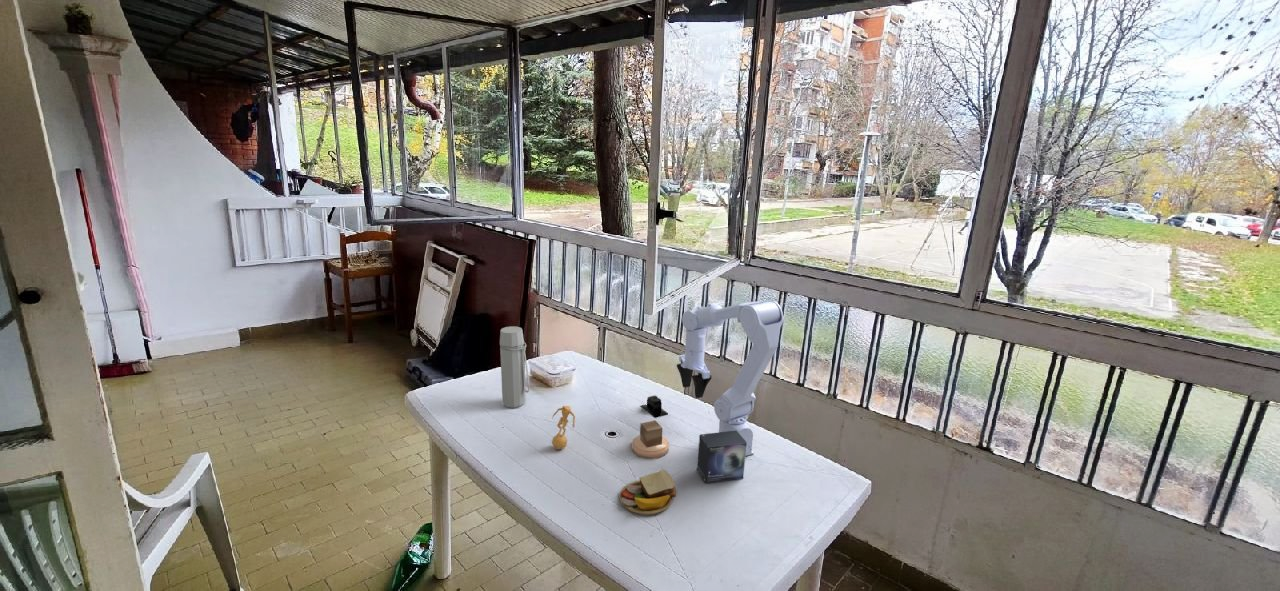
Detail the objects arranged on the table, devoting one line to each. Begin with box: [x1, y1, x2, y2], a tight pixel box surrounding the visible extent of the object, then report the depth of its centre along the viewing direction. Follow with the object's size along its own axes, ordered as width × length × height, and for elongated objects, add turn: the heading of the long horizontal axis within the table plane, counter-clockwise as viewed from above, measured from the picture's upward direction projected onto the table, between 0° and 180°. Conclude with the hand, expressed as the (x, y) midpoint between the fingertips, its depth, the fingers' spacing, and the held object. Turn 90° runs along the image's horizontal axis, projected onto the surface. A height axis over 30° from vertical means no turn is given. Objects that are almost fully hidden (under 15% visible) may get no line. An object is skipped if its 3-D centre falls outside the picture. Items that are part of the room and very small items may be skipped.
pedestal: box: [631, 434, 670, 459], centre depth 149 cm, size 10×10×2 cm
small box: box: [696, 430, 747, 484], centre depth 136 cm, size 11×6×10 cm, turn 105°
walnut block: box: [639, 420, 664, 448], centre depth 148 cm, size 4×4×5 cm
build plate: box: [639, 395, 669, 419], centre depth 171 cm, size 12×7×5 cm, turn 30°
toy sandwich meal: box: [619, 469, 677, 516], centre depth 127 cm, size 12×14×5 cm
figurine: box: [551, 405, 576, 450], centre depth 147 cm, size 8×6×12 cm
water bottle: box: [499, 326, 531, 409], centre depth 169 cm, size 9×8×25 cm
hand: (692, 391), depth 161 cm, fingers open, 7 cm apart
